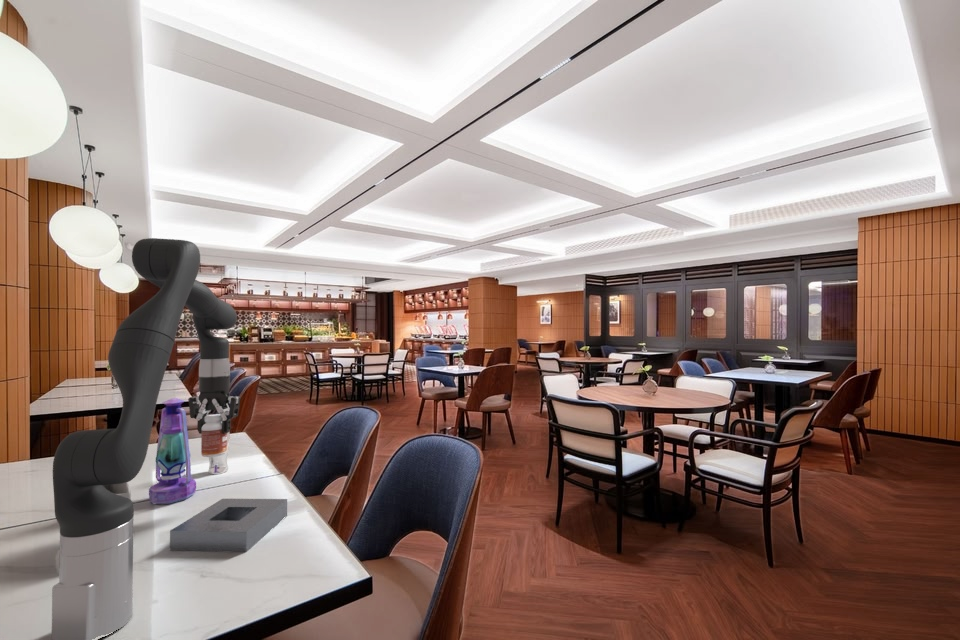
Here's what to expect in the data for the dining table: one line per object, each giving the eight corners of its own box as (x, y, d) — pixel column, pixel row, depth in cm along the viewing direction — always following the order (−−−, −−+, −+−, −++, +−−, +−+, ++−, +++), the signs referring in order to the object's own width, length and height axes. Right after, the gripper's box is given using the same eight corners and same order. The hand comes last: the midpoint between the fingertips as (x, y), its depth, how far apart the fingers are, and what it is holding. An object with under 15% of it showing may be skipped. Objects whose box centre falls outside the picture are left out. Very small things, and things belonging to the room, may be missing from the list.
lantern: (136, 503, 120) (137, 400, 121) (176, 488, 132) (176, 394, 132) (169, 508, 117) (170, 402, 117) (207, 493, 128) (208, 396, 128)
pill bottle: (227, 455, 117) (227, 416, 117) (201, 459, 113) (201, 418, 114) (226, 450, 122) (226, 412, 122) (201, 453, 119) (201, 415, 119)
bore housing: (246, 551, 93) (246, 531, 93) (169, 550, 94) (170, 530, 94) (287, 515, 111) (287, 499, 111) (222, 515, 112) (222, 498, 112)
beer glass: (208, 470, 149) (208, 428, 149) (230, 467, 152) (231, 426, 152) (204, 476, 142) (205, 432, 143) (228, 473, 145) (228, 430, 146)
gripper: (180, 376, 115) (179, 436, 114) (230, 375, 114) (230, 436, 114) (199, 373, 122) (199, 430, 122) (247, 373, 122) (246, 430, 121)
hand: (214, 432), depth 118 cm, fingers closed on pill bottle, 6 cm apart
